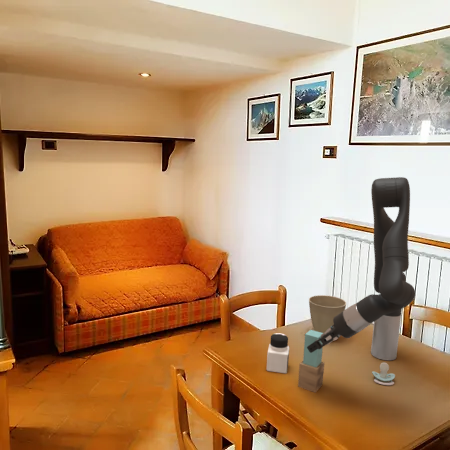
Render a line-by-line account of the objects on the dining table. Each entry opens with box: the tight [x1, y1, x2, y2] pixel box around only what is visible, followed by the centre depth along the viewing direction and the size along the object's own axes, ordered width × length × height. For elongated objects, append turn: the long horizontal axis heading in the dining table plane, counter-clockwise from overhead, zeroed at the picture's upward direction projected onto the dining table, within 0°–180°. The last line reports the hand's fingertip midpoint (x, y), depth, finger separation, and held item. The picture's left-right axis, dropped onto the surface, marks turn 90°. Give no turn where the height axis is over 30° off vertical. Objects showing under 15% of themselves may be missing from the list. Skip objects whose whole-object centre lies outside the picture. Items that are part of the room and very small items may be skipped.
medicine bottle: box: [266, 332, 290, 374], centre depth 150 cm, size 7×7×12 cm
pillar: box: [302, 329, 324, 367], centre depth 138 cm, size 4×4×10 cm
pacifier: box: [371, 362, 396, 386], centre depth 144 cm, size 7×6×6 cm
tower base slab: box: [297, 374, 324, 393], centre depth 139 cm, size 6×6×4 cm
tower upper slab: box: [298, 360, 325, 381], centre depth 139 cm, size 6×6×4 cm
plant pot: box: [308, 294, 347, 333], centre depth 176 cm, size 15×15×16 cm
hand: (314, 345), depth 137 cm, fingers open, 8 cm apart
